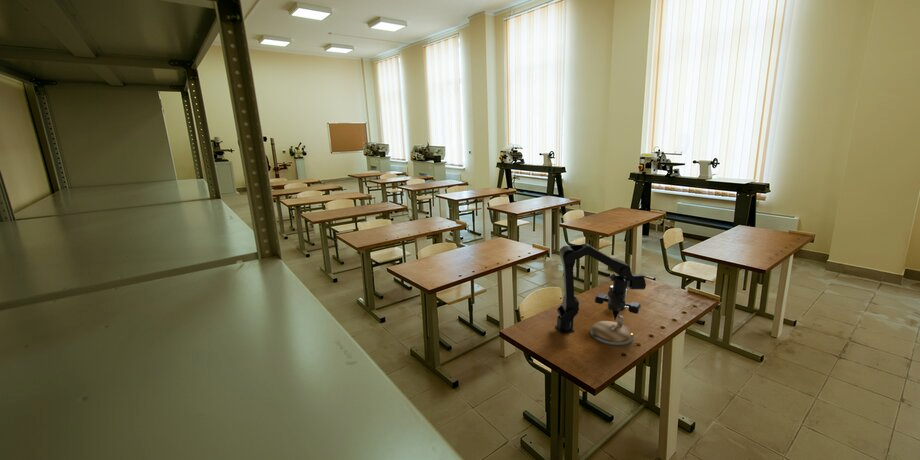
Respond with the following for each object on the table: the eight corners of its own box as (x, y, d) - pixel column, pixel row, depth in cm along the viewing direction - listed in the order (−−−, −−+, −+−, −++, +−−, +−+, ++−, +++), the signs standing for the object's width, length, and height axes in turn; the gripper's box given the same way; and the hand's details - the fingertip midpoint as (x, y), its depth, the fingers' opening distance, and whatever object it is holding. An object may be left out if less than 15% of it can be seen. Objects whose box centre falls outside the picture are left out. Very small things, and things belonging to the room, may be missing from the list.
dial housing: (606, 349, 162) (606, 346, 162) (582, 328, 179) (582, 325, 179) (642, 341, 167) (642, 338, 167) (615, 322, 184) (615, 319, 183)
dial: (618, 346, 162) (619, 335, 160) (585, 331, 174) (585, 320, 173) (637, 333, 171) (639, 322, 170) (605, 320, 183) (606, 309, 182)
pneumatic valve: (606, 307, 198) (607, 285, 195) (618, 300, 205) (620, 279, 202) (616, 311, 194) (618, 289, 191) (628, 304, 201) (630, 282, 198)
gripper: (592, 289, 172) (589, 320, 176) (637, 301, 161) (632, 334, 166) (600, 281, 180) (596, 311, 185) (643, 291, 170) (638, 323, 175)
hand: (615, 319), depth 177 cm, fingers closed
